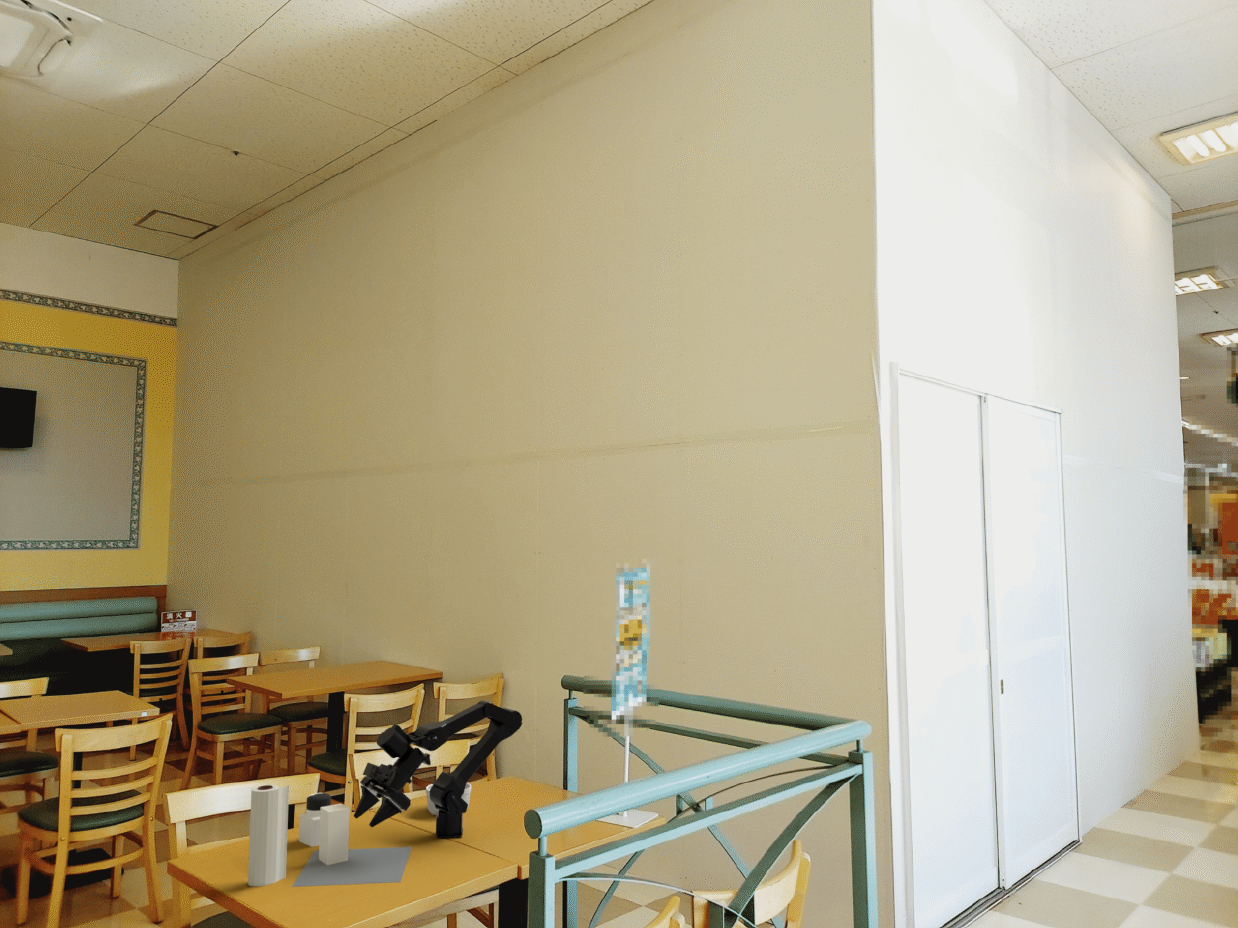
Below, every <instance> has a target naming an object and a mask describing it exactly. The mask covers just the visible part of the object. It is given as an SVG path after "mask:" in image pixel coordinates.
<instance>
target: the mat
mask: <svg viewBox="0 0 1238 928" xmlns="http://www.w3.org/2000/svg"><path fill="white" fill-rule="evenodd" d="M412 848H413V847H412V846H399V847H395V846H394V847H372V848H369V847H368V848H348V861H344V862H339V863H335V864H331V865H326V864H325V863H323V862H322V861H320V860H319V850H314V851H313V853H312V854H311V856H310V857H309V859H308V861H307V862H306V864H305V865H304V867H303V868H302V870H301V871H300V873H299V874H298V876H297V878H296V879H295V881H294V882H293V883H292V886H291V888H293V887H296V888H297V887H299V888H301V887H319V886H320V887H321V886H323V887H324V886H343V885H344V886H345V885H364V884H388V883H389V884H390V883H401V881H402V880H403V875H404V872H405V869H406V866H407V863H408V862H409V861H408V860H409V857H410V855H411V851H412Z"/></svg>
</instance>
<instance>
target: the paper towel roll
mask: <svg viewBox="0 0 1238 928" xmlns="http://www.w3.org/2000/svg"><path fill="white" fill-rule="evenodd" d="M250 791H251V792H250V793H251V795H250V817H249V820H250V821H249V822H250V824H249V843H248V844H249V847H248V870H247V871H248V872H247V885H248V886H249V887H265V886H268V885H272V884H274V883H277V882H279V881H281V880H283V879H286V878H287V854H288V853H287V851H288V830H289V829H288V828H289V827H288V825H289V824H288V822H289V801H290V800H289V799H290V796H289V795H290V794H289V793H290V785H285V786H282V787H280V785H278V784H277V785H276V784H262V785H261V784H260V785H257V786H254V787H252V788H251V790H250Z"/></svg>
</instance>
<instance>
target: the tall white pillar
mask: <svg viewBox="0 0 1238 928" xmlns="http://www.w3.org/2000/svg"><path fill="white" fill-rule="evenodd" d="M349 829H350V807H348V806H346V805H344V804H343V803H336V804H331V805H330V806H325V807H321V809H320V840H319V845H318V846H319V847H318V849H319V860H320V861H322V862H323V863H325V864H326V865H331V864H335V863H339V862H344V861H348V849H349V840H350V839H349V838H350V837H349V836H350V835H349V832H350V830H349Z"/></svg>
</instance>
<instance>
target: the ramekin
mask: <svg viewBox="0 0 1238 928" xmlns="http://www.w3.org/2000/svg"><path fill="white" fill-rule="evenodd" d="M432 786H433V784H432V783H430V784H428V785H427V786H426V787H425V794H426V804H427V810H428V811H429V813H430V814H431V815H434V816H437V815H438V813H439V809H436V808H435V805H434V803H433V802H432V801H431V799H430V789H431V787H432ZM471 793H472V784H471V783H469V782H467V783H466V787H465V791H464V794H463V795H462V797H461V798H462V799H463V800H464V801H465V802H466V803H467V804H468V808H467V810H468V809H469V807H470V801H471V800H470V799H471Z"/></svg>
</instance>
